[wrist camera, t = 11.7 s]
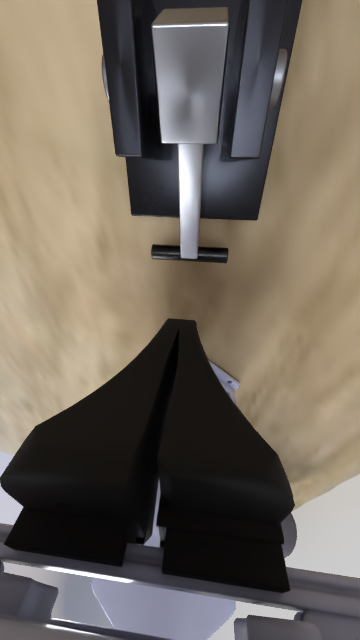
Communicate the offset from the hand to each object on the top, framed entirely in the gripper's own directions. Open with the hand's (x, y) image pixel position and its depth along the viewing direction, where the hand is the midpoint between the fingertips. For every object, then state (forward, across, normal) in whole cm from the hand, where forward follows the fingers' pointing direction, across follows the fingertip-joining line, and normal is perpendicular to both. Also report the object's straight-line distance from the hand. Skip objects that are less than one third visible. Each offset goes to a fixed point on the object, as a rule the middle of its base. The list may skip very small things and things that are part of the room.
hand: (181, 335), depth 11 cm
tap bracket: (+10, 0, -9) cm, 14 cm away
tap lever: (+5, 0, -7) cm, 9 cm away
